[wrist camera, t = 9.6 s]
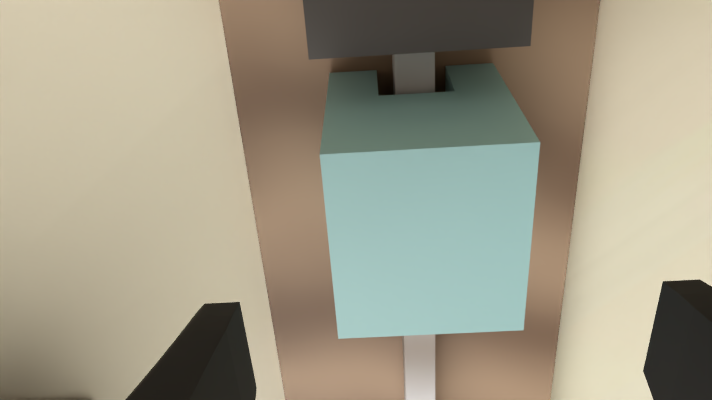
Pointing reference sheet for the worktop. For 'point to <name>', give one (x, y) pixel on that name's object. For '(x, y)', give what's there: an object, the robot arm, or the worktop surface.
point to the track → (305, 188)
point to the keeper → (428, 205)
